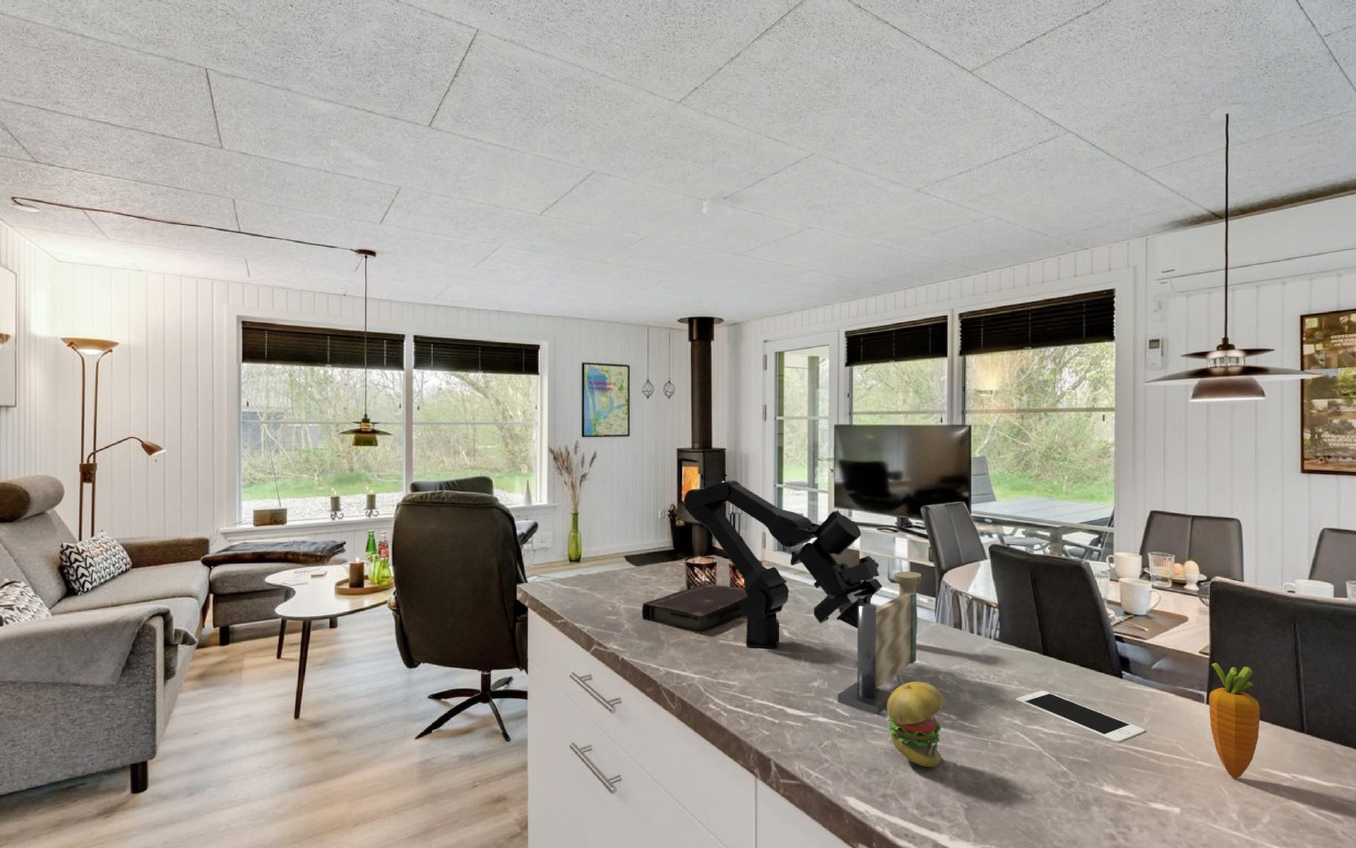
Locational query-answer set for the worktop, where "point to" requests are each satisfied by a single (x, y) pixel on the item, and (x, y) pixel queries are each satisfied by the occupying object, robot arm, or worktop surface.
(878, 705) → the hinge post
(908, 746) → the hamburger
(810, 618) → the worktop surface
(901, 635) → the gate
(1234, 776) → the carrot
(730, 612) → the diary
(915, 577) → the handle
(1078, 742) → the worktop surface
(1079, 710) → the cell phone
